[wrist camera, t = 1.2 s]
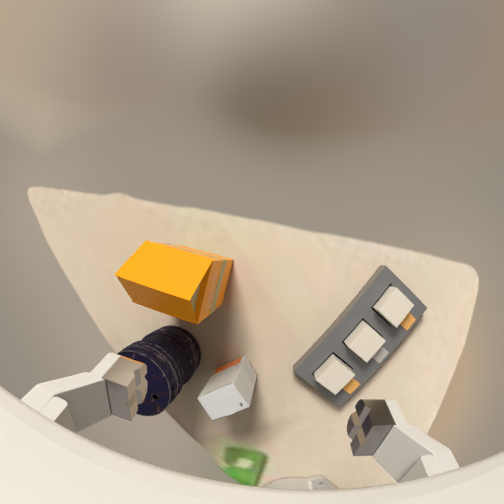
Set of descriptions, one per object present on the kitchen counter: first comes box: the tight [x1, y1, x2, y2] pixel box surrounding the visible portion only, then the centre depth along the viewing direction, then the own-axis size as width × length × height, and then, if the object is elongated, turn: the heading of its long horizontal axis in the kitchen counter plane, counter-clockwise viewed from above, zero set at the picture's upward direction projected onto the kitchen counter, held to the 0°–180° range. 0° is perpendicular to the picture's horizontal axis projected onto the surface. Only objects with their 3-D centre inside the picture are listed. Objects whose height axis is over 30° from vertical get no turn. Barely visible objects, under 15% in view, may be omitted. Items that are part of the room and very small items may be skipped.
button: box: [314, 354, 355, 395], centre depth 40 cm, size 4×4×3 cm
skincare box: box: [197, 355, 257, 420], centre depth 39 cm, size 6×4×12 cm
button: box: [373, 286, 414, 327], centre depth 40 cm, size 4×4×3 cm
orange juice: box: [115, 241, 233, 324], centre depth 36 cm, size 8×9×20 cm
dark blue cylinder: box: [117, 326, 201, 416], centre depth 39 cm, size 10×10×15 cm
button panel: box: [293, 265, 427, 407], centre depth 42 cm, size 11×22×3 cm, turn 139°
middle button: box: [344, 320, 386, 362], centre depth 40 cm, size 4×4×3 cm
